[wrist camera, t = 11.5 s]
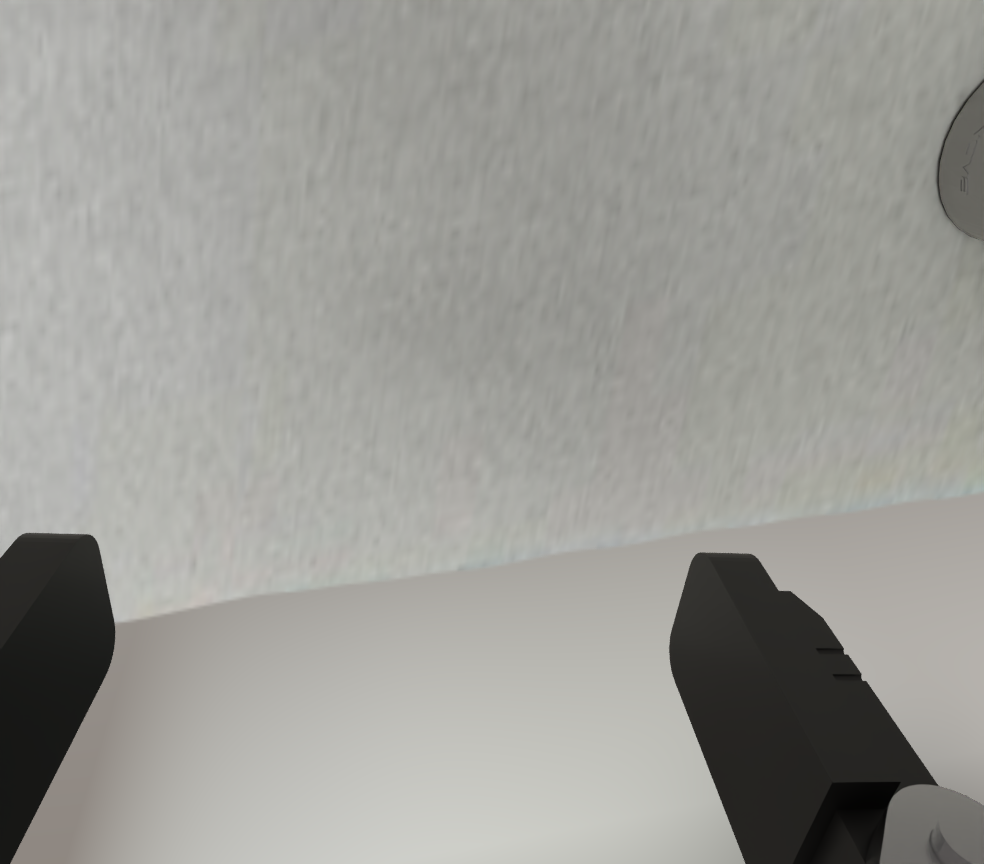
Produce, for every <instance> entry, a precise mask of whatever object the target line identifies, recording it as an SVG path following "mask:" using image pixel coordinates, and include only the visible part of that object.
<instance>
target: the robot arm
mask: <svg viewBox="0 0 984 864" xmlns="http://www.w3.org/2000/svg"><path fill="white" fill-rule="evenodd" d="M939 188H940V195H941V201H942V203H943V205H944V208H945V210H946V212H947V215H948V216H949V218H950V219H951V220H952V221H953V223H954V224H955V225H956V226H957V227H958V228H959V229H960V230H962V231H963V232H965V233H966V234H968V235H969V236H971V237H974V238H977V239H980V240H982V241H984V83H983V84H982V85H981V86H980V87H979V88H978V89H977V90H976V92H975V93H974V94H973V95H972V96H971V97H970V98H969V99H968V101H967V102H966V104H965V106H964V107H963V109H962V110H961V112H960V113H959V115H958V116H957V118H956V119H955V121H954V124H953V126H952V128H951V130H950V133H949V135H948V137H947V139H946V141H945V145H944V149H943V153H942V157H941V161H940V170H939ZM114 644H115V624H114V618H113V613H112V608H111V603H110V599H109V594H108V589H107V584H106V579H105V574H104V569H103V564H102V560H101V555H100V550H99V546H98V543H97V541H96V540H95V538H94V537H93V536H91V535H88V534H51V533H25V534H22V535H21V536H19V537H18V538H17V539H16V540H15V541H14V542H13V544H12V545H11V546H10V547H9V548H8V550H7V551H6V552H5V553H4V555H3V556H2V557H1V558H0V864H10V863H11V861H12V859H13V857H14V855H15V853H16V851H17V849H18V847H19V845H20V843H21V841H22V839H23V837H24V835H25V833H26V831H27V829H28V827H29V825H30V824H31V821H32V820H33V817H34V816H35V814H36V812H37V810H38V808H39V806H40V804H41V802H42V800H43V798H44V796H45V794H46V792H47V790H48V788H49V786H50V784H51V782H52V780H53V778H54V776H55V774H56V772H57V770H58V768H59V766H60V764H61V762H62V761H63V758H64V757H65V755H66V753H67V751H68V749H69V747H70V745H71V743H72V741H73V739H74V737H75V735H76V733H77V731H78V729H79V727H80V725H81V723H82V721H83V719H84V717H85V715H86V713H87V711H88V709H89V707H90V705H91V704H92V702H93V700H94V698H95V696H96V693H97V692H98V690H99V688H100V686H101V684H102V682H103V680H104V678H105V676H106V674H107V671H108V669H109V666H110V663H111V660H112V656H113V651H114ZM843 650H844V648H843V647H842V645H841V644H840V642H839V641H838V639H837V638H836V636H835V635H834V634H833V632H832V631H831V629H830V628H829V626H828V625H827V623H826V622H825V621H824V619H823V618H822V617H821V616H820V615H818V613H816V612H815V611H814V610H813V609H811V608H810V607H809V606H808V605H807V604H805V603H804V602H803V601H802V600H800V599H799V598H798V597H797V596H796V595H794V594H793V593H792V592H791V591H778V589H777V588H776V586H775V584H774V583H773V581H772V580H771V578H770V577H769V575H768V573H767V572H766V570H765V569H764V567H763V566H762V564H761V563H760V561H759V560H758V559H757V558H756V557H755V556H754V555H752V554H736V553H698V554H696V555H695V557H694V558H693V560H692V562H691V565H690V568H689V571H688V575H687V578H686V582H685V585H684V589H683V592H682V596H681V599H680V603H679V607H678V610H677V613H676V617H675V621H674V624H673V628H672V632H671V636H670V646H669V653H670V664H671V670H672V674H673V677H674V680H675V683H676V686H677V688H678V691H679V693H680V696H681V698H682V701H683V703H684V706H685V709H686V711H687V714H688V716H689V719H690V722H691V724H692V727H693V729H694V732H695V734H696V737H697V740H698V742H699V744H700V747H701V750H702V752H703V755H704V758H705V760H706V763H707V765H708V768H709V771H710V773H711V776H712V778H713V781H714V783H715V786H716V789H717V791H718V794H719V796H720V799H721V801H722V804H723V807H724V809H725V812H726V814H727V817H728V819H729V822H730V825H731V827H732V830H733V832H734V835H735V837H736V840H737V843H738V845H739V848H740V850H741V853H742V856H743V858H744V860H745V863H746V864H984V806H983V805H982V804H981V803H979V802H977V801H975V800H973V799H971V798H970V797H968V796H966V795H963V794H961V793H958V792H956V791H954V790H950V789H947V788H944V787H940V786H938V784H937V783H936V782H935V780H934V779H933V777H932V776H931V775H930V773H929V771H928V770H927V769H926V767H925V766H924V764H923V763H922V761H921V760H920V758H919V757H918V756H917V754H916V753H915V751H914V750H913V748H912V747H911V745H910V744H909V742H908V741H907V740H906V738H905V737H904V735H903V734H902V732H901V731H900V729H899V728H898V727H897V725H896V724H895V722H894V721H893V720H892V718H891V716H890V715H889V713H888V712H887V710H886V709H885V708H884V706H883V705H882V703H881V702H880V700H879V699H878V697H877V696H876V695H875V693H874V692H873V690H872V689H871V687H870V686H869V684H868V683H867V682H866V681H862V679H861V673H860V671H859V670H858V668H857V667H856V666H855V664H854V663H853V661H852V660H851V658H850V657H849V655H845V654H844V651H843Z"/></svg>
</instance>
